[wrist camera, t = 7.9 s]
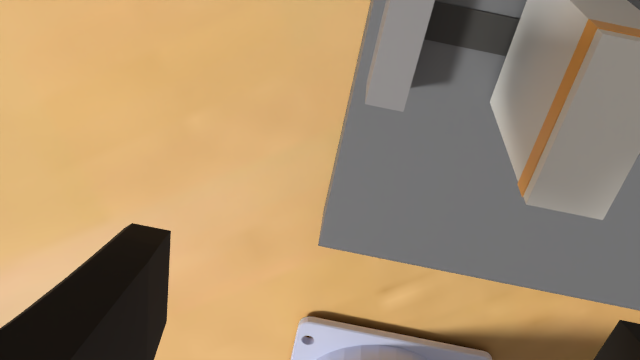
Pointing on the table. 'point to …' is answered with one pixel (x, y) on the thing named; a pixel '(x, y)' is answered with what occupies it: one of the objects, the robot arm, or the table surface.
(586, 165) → the fader tab
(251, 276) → the table surface
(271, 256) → the table surface
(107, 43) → the table surface
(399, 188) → the console
